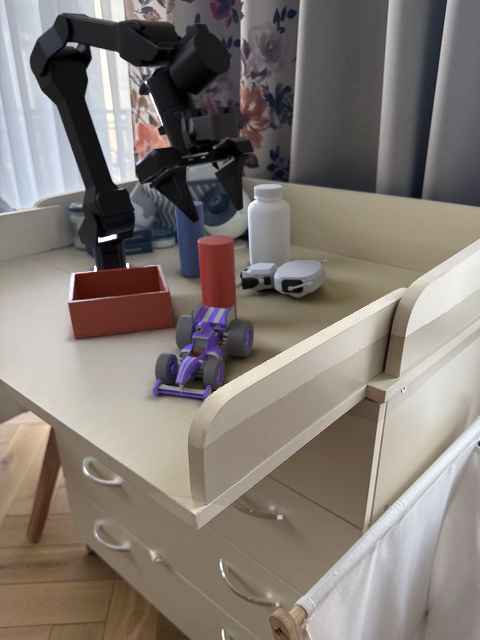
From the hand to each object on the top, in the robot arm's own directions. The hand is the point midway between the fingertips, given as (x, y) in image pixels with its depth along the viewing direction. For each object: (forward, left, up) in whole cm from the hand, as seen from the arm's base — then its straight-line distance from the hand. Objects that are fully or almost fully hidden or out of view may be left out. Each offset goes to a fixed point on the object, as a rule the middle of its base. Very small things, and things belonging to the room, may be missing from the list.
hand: (219, 215), depth 80 cm
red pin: (+5, -2, -15) cm, 16 cm away
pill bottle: (-20, +13, -15) cm, 28 cm away
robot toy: (-6, +11, -15) cm, 20 cm away
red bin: (-3, -16, -15) cm, 22 cm away
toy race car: (+18, -7, -15) cm, 25 cm away
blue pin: (-20, -2, -15) cm, 25 cm away
